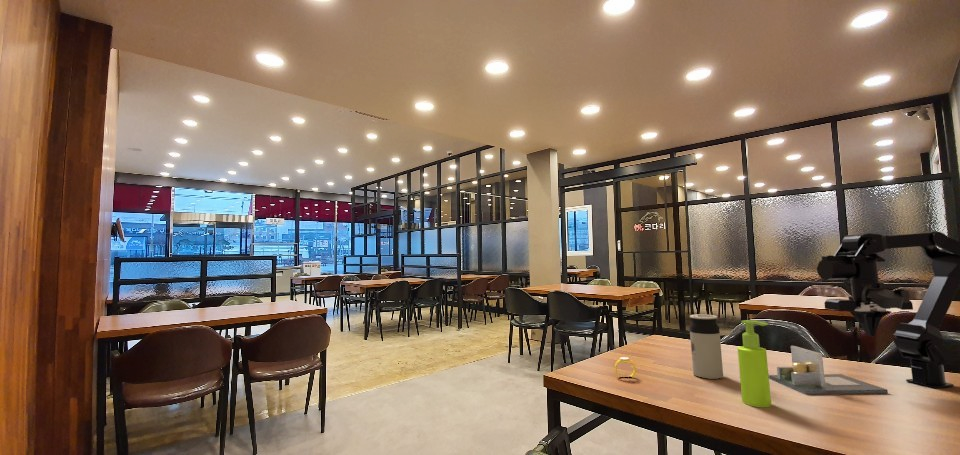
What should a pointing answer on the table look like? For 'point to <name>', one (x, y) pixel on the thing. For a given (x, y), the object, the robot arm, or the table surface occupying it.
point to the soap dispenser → (753, 368)
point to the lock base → (830, 384)
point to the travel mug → (706, 346)
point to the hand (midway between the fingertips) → (871, 336)
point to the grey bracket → (813, 368)
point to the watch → (625, 361)
